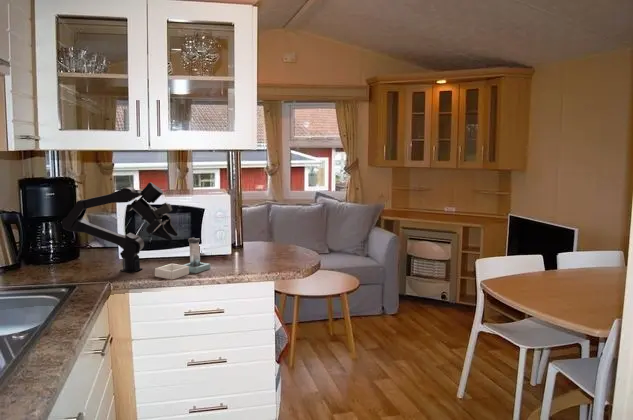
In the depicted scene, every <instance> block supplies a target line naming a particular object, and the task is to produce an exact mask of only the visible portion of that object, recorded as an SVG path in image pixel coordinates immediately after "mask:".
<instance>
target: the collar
mask: <svg viewBox="0 0 633 420" xmlns="http://www.w3.org/2000/svg"><path fill="white" fill-rule="evenodd" d="M183 265H184V266H189V273H192V274H197V273H200V272H201V273H202V272H204V271H208V270H210V269H211V263H207V262H201V261H200V266H198V267H192V266H190V262H189V263H185V264H183Z"/></svg>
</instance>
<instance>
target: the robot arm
mask: <svg viewBox="0 0 633 420" xmlns="http://www.w3.org/2000/svg"><path fill="white" fill-rule="evenodd" d="M163 194H164V191H163V190H162V189H161V187H159V186H157V185H156V184H154V183H152V181H151V182H148V183H147V184H146V186H145V187H144V188H143V189H142V190H138V189H135V188H134V187H132V186H127V187H124V188H122V189H119V190H117V191H114V192H111V193H108V194H103V195H99V196H94V197H90V198H86V199H85V198H83V199H79V200H77V201H76V203H75V204H74V206H73V208H71V210H70V211H69V212H68V214H67V216H65V217H64V218H63V219H62V220H61V227H62V229H63V230H65V231H68V232H72V233H83V234H84V233H85V234H87V235H90V236H93V237H95V238H99V239H101V240H103V241H106V242H109V243H111V244H115V245H117V246H119V247H120V248H121V249H122V251H121V252H120V253H119V254H120V257H121V259H122V268H121V269H119V271H120V272H125V273H130V274H131V273H134V272H139V271H142V270H143V269H144V268H143V267H141V262H140V261H141V260H140V255H138V254H140V251H141V250H143V249H144V247H145V242H144V239H143V238H142V237H140V235H136V234H134V233H132V232H129V233H127V234H126V235H125V234H121V233H118V232H115V231H113V230H109V229H107V228H104V227H102V226H99V225H96V224H93V223H90V222H89V221H88V220H87V219H86V218H84V217H85V214H86V213H87V210H88V209H90V208H91V209H92V208H95V207H98V206H104V205H109V204H113V203H114V204H118V203H119V204H121V203H122V204H123V203H128V204H126V206H127V212H130V211H132V210H133V211H134V212H136V214H138V216H140V217H141V220H142V221H145V222H146V223H147V224H148V225H147V226H146V228H145V230H146V232H147V234H149V235H151V236H156V237H159V238H162V239H165V240H168V241H172V240H173V238H172V236H174V237H177V236H178V233H177V231H176V229H175V227H174V226H173V224H172V215H170V214H169V213H170V212H172V211H173V208H172V204H170V203H169V202H164V203H162V204H161V207H159V208H157V207H154V206H152V205H150V204H151V203H152V204H154V203H155V202H157V200H158V199H159V198H160V197H161V196H163ZM137 198H138V199H137ZM130 202H131V203H130Z"/></svg>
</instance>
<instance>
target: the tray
mask: <svg viewBox="0 0 633 420" xmlns="http://www.w3.org/2000/svg"><path fill="white" fill-rule="evenodd" d="M154 275H155V277H156V278H162V279H167V280H176V279H178V278H182V277H184V276H187V275H190V272H189V266H184V264H177V263H169V264H166V265H163V266H159V267H155V268H154Z"/></svg>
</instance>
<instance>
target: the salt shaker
mask: <svg viewBox="0 0 633 420" xmlns="http://www.w3.org/2000/svg"><path fill="white" fill-rule="evenodd" d="M187 241H188V243H189V263H190V266H192V267H198V266H200V262H201V253H200V246H199V242H200V238H195V237H190V238H188V239H187Z"/></svg>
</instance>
